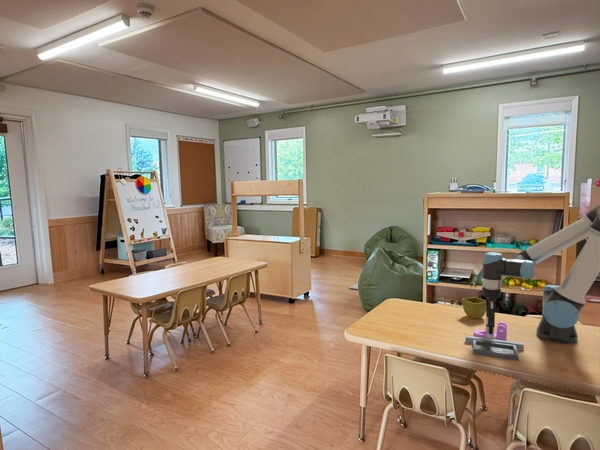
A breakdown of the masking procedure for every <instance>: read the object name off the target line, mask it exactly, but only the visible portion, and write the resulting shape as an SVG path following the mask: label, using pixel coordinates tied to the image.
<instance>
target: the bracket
mask: <svg viewBox="0 0 600 450" xmlns="http://www.w3.org/2000/svg"><path fill="white" fill-rule="evenodd" d="M473 335H474V337H480V338H487V331H486V330H482V329H476V330H474V332H473ZM507 335H508V325H507V322H504V321H499V322H497V325H496V332H495V331H494V339H496V340H503V341H507Z"/></svg>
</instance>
